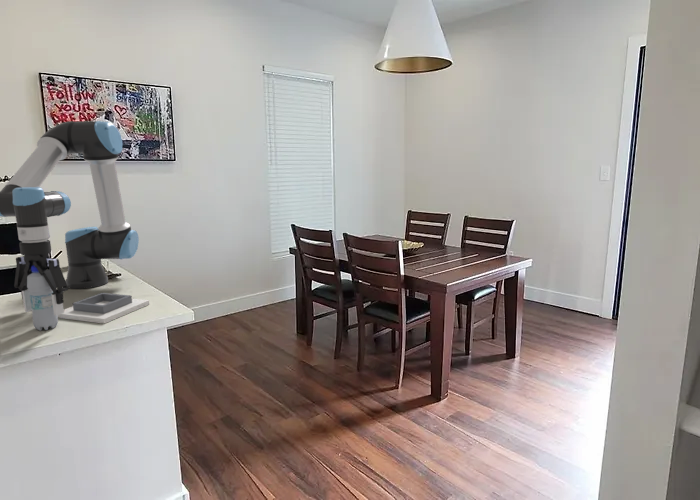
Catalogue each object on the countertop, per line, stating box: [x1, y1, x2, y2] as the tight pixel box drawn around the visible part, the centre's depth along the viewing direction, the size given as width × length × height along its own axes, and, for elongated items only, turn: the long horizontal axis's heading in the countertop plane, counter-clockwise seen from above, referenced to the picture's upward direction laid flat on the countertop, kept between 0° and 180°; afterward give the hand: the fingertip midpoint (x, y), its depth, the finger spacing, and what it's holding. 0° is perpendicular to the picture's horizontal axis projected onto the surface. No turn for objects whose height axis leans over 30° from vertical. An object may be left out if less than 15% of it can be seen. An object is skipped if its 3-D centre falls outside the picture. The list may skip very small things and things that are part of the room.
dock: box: [57, 292, 150, 324], centre depth 153 cm, size 20×20×4 cm
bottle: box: [27, 265, 59, 331], centre depth 136 cm, size 7×7×20 cm
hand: (44, 312), depth 137 cm, fingers open, 11 cm apart
